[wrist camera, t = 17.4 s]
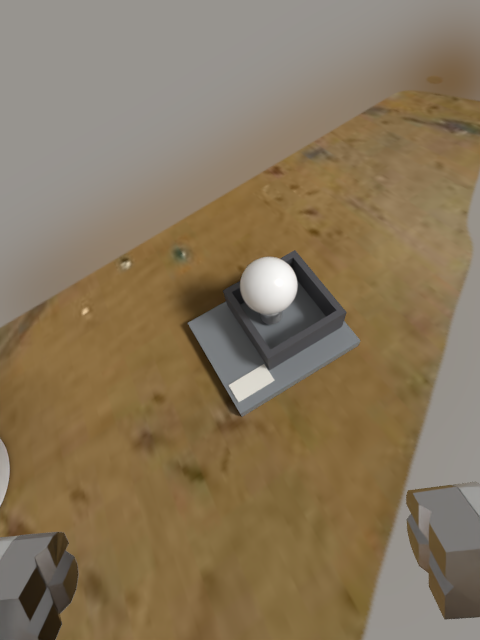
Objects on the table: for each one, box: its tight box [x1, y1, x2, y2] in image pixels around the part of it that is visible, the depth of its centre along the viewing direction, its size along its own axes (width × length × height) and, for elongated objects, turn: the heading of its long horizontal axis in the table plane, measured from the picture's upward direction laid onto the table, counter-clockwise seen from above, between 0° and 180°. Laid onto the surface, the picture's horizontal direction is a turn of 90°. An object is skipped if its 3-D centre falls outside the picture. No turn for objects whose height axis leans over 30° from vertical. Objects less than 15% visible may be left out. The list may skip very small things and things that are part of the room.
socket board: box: [188, 251, 360, 417], centre depth 47 cm, size 17×14×6 cm
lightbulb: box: [240, 257, 298, 325], centre depth 44 cm, size 6×6×11 cm
